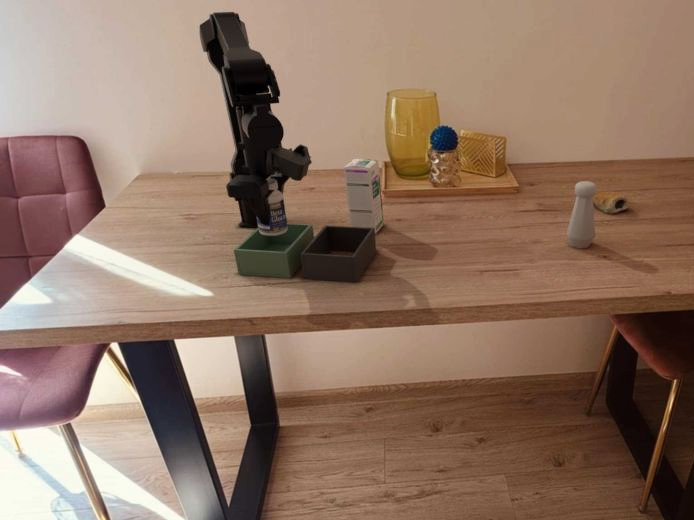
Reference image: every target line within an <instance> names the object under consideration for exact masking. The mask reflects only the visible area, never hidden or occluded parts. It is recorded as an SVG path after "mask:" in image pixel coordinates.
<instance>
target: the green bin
mask: <svg viewBox="0 0 694 520" xmlns="http://www.w3.org/2000/svg"><path fill="white" fill-rule="evenodd" d="M287 226H288V230H287V231H286V232H285V233H283V234H281V235H276V236H266V235H262V234H261V233H260V232H259V229H258V228H257V227H256V228H255V229H254V230H253V231H252V233H250V234H249V235H248V236H247V237H246V238H245V239H244V240H242V242H240V243H239V244H238V245H237V246H236V247H235V248H234V249H233V254H234V259H235V264H236V269H237V273H238V275H241V276H242V275H243V276H255V277H256V276H260V277H272V278H273V277H274V278H288V279H291V278H292V276H293V275H295V273H296V272H297V270H299V268H300V267H301V266H302V263H301V256H300V254H301V253H302V251H303V250H304V249H305V248H306V247H307V246H308V245H309V243H310V242H311V241H312V240H313V239H314V238H315V234H314V227H313V224H311V223H291V222H287Z"/></svg>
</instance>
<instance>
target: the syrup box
mask: <svg viewBox="0 0 694 520" xmlns="http://www.w3.org/2000/svg"><path fill="white" fill-rule="evenodd" d="M379 165H380V164H379V160H377V159H372V158H353V159H352V161H350V162H349V163H347V164H346V165H344V166H343V172H344V182H345V191H346V199H347V207H348V215H349V217H348V218H349V224H350V227H364V228H374V229H375V235H376V234H377V233H378V232H379V230H380V229H381V228H382V227H383V226H384V225H385V221H384V211H383V210H384V209H383V198H382V186H381V178H380V177H381V176H380V166H379Z"/></svg>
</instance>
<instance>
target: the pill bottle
mask: <svg viewBox="0 0 694 520" xmlns="http://www.w3.org/2000/svg"><path fill="white" fill-rule="evenodd" d="M268 184H269V190H274V192H273V193H272V194H271V195H270V196H269V198H268V207H269V224H268V225H263V224H262V223H261V221H260V220H259V219H258V217H257V216H256V217H257V223H258V229H259V232H260V233H261V234H262V235H266V236H276V235H281V234H283V233H285V232H286V231H287V230H288V226H287V223H288V220H287V214H286V213H287V212H286V206H285V201H284V193H283V194H282V193H281V192H280V191H278V190H277V189H278V184H277V180H275V179H271V178H269V179H268Z"/></svg>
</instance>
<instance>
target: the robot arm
mask: <svg viewBox="0 0 694 520" xmlns="http://www.w3.org/2000/svg"><path fill="white" fill-rule="evenodd" d="M240 18H241V17H240V14H239V13H238V12H234V11H218V12H216V11H215V12H214V11H213V12H212V13H210V14H209V17H208V19H207V20H205V21H203V22H202V23H200V24H199V31H198V32H199V39H200V44H201V49H202V52H203V53H206V54H207V55H206V56H207V60H208V63H209V64H210V66H211V67H213V69H214V70H215V72H217V73H218V75H219V77H220V83H221V88H222V93H223V98H224V102H225V107H226V112H227V116H228V121H229V126H230V127H229V128H230V131H231V136H232V140H233V141H232V142H233V145H234V152H233V155H232V158H231V160H230V169H231V172H229V174H228V175H229V181H228V182H227V184H226V185H225V187H226V193H227V196H228V197H229V198H232V199H234V201H235V202H237V204H238V209H239V214H240V219H241V221H240V222H239V223H238V227H243V228H256V229H257V228H258V223H257V217H258V219H259V220H260V221H261V223H262V224H263V225H268V224H269V207H268V198H269V196H270V195H271V194H272V193H273V192H274V190H269V184H268V179H269V178H271V179H275V180H277V184H278V189H277V190H278V191H280V192H281V193H282V194H283V195H284V189H285V184H286V183H287V182H288V181H289V180H290V179H291V180H293V181H297V182H300V181H302V180H303V179H304V178H305V177H306V176H308V171H309V168H310V166H311V164H312V159H311V158H312V156H311V155H310V153H309V148H308V146H306V145H303V144H298V145H297V146H296V147H295V148H294V149H293V148H291V147H290V148H285V147H283V144H282V141H283V140H284V139H283V138H284V136H285V135H284V134H285V132H284V131H285V130H284V126H283V124H282V122H281V121H280V119H278V117H277V116H276V115H275V114H274V113H273V111H272V105H273V104H280V97H281V90H280V87H279V83H278V80H277V77H276V73H275V70H274V69H272V66H271V64H270V63H267V62H266V59H265V58H264V56H263V54H262V53H261V52H260V51H257V50H255V49H252V48H251V47H250V41H249V35H248V31H247V28H246V23H245V22H244V21H242V20H241V19H240ZM256 216H257V217H256Z"/></svg>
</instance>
